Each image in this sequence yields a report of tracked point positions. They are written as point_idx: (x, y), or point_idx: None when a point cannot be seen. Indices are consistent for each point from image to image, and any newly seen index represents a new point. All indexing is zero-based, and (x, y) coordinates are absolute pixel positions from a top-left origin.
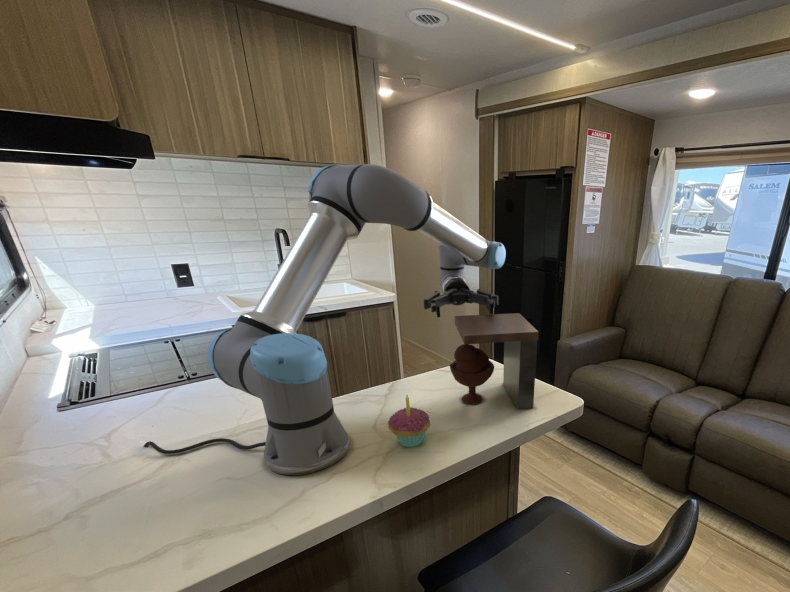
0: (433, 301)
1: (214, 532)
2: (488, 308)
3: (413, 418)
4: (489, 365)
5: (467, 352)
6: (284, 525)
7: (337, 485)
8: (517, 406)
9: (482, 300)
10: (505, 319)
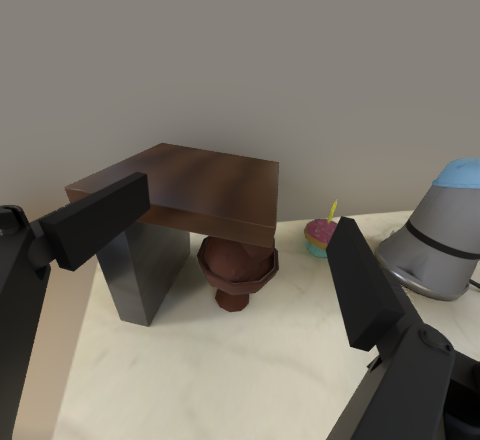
0: (412, 326)
1: None
2: (126, 217)
3: (322, 219)
4: (203, 255)
5: None
6: (377, 219)
7: (362, 231)
8: (189, 250)
9: (28, 290)
10: (156, 175)
